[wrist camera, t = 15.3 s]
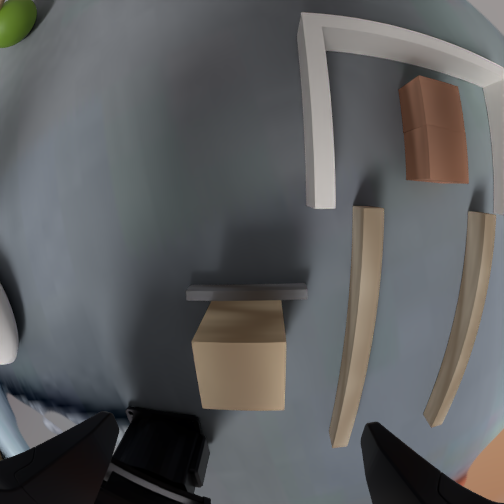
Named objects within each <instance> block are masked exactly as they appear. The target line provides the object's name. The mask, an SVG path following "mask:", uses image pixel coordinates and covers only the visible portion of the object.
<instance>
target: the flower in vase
mask: <svg viewBox="0 0 504 504" xmlns="http://www.w3.org/2000/svg"><path fill="white" fill-rule="evenodd" d="M18 345H19V339H18V330H17V325H16V321H15V317H14V314H13V311H12V308H11V305H10V303H9V300H8V298H7V295H6V293H5V291H4V289H3V287H2V285H1V283H0V364H2V365H3V364H9V363H12V362H13V361H14V360H15V358H16V356H17V351H18Z"/></svg>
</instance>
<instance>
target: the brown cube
mask: <svg viewBox="0 0 504 504" xmlns="http://www.w3.org/2000/svg"><path fill="white" fill-rule="evenodd" d="M404 142H405V157H406V180H413V181H425V182H435V183H465V184H469V180H468V158H467V145H466V135H465V133H463V132H459V131H454V130H450V129H445V128H441V127H436V126H431V125H424V126H422V127H419V128H416V129H414V130H411V131H408V132H406V133H404Z"/></svg>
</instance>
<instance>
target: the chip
mask: <svg viewBox="0 0 504 504" xmlns="http://www.w3.org/2000/svg"><path fill="white" fill-rule="evenodd" d="M398 91H399V98H400V105H401V114H402V123H403V133H406V132H408V131H411V130H414V129H416V128H419V127H422V126H424V125H431V126H436V127H441V128H445V129H450V130H454V131H459V132H463V133H465V129H464V121H463V113H462V107H461V101H460V95H459V90H458V87H457V86H454V85H451V84H448V83H445V82H441V81H438V80H434V79H431V78H427V77H423V76H417V77H416V78H414V79H413V80H411V81H410V82H409V83H407V84H406V85H404V86H403V87H402V88H400V89H399V90H398Z"/></svg>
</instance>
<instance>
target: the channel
mask: <svg viewBox="0 0 504 504" xmlns="http://www.w3.org/2000/svg"><path fill="white" fill-rule="evenodd" d="M495 225H496V215H494V214H488V213H482V212H473V211H468V226H467V240H466V251H465V259H464V267H463V274H462V281H461V287H460V293H459V298H458V303H457V308H456V313H455V317H454V322H453V326H452V330H451V334H450V338H449V341H448V345H447V349H446V352H445V355H444V359H443V362H442V365H441V368H440V371H439V374H438V377H437V380H436V383H435V385H434V388H433V391H432V394H431V396H430V399H429V401H428V404H427V406H426V409H425V411H424V413H423V415H424V416H425V418H426V420H427V421H428V423H429V425H430V427H431V428H432V427H435V426H438V425H441V424H442V423H443V421H444V419H445V416H446V414H447V412H448V410H449V408H450V406H451V404H452V401H453V399H454V397H455V394H456V392H457V390H458V387H459V385H460V382H461V380H462V377H463V374H464V372H465V369H466V366H467V363H468V360H469V357H470V354H471V351H472V348H473V345H474V342H475V338H476V335H477V331H478V328H479V324H480V320H481V316H482V312H483V308H484V303H485V298H486V294H487V288H488V283H489V277H490V271H491V264H492V257H493V248H494V238H495ZM383 232H384V208H379V207H373V206H353V228H352V257H351V275H350V289H349V301H348V312H347V322H346V331H345V339H344V347H343V355H342V362H341V368H340V375H339V381H338V387H337V393H336V398H335V404H334V409H333V414H332V419H331V424H330V429H329V434H330V439H331V443H332V448H338V447H345V446H347V445H348V442H349V438H350V435H351V432H352V428H353V425H354V421H355V417H356V414H357V410H358V406H359V402H360V398H361V394H362V389H363V385H364V381H365V376H366V371H367V366H368V361H369V356H370V351H371V345H372V339H373V333H374V326H375V320H376V312H377V305H378V296H379V287H380V277H381V266H382V251H383Z"/></svg>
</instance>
